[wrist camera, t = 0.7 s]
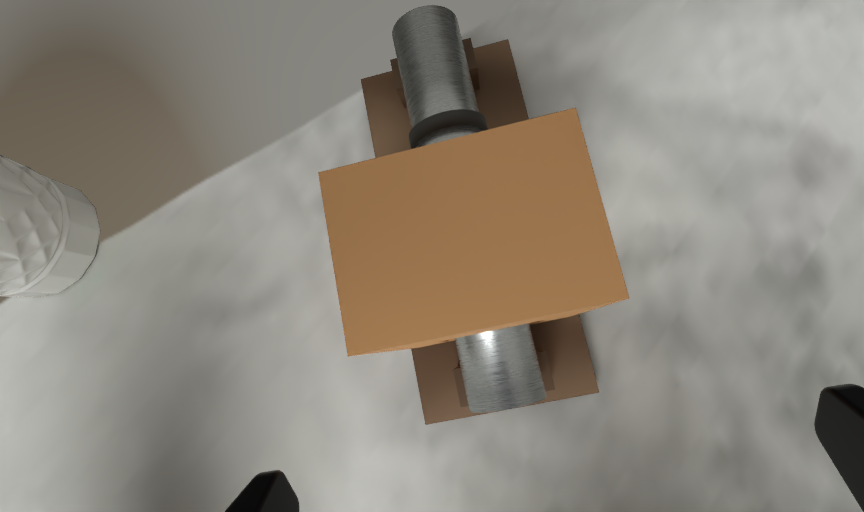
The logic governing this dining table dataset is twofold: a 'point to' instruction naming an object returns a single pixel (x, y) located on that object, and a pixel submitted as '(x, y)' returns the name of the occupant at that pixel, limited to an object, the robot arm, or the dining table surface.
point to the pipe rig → (442, 120)
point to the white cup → (42, 233)
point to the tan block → (470, 236)
